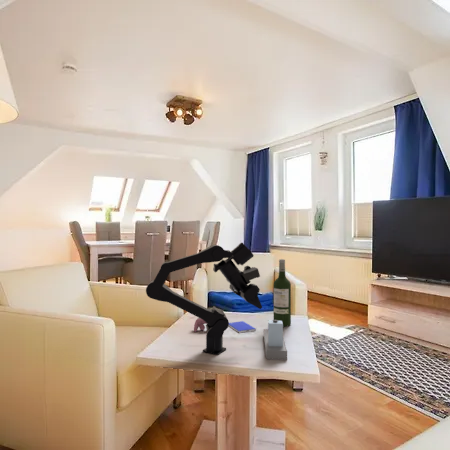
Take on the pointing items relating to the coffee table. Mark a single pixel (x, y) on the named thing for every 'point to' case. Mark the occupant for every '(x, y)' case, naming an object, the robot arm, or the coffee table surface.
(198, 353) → the coffee table surface
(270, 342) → the light blue rectangular block
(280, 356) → the power strip
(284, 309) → the wine bottle
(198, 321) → the video game controller
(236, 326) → the hard drive
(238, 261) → the robot arm
